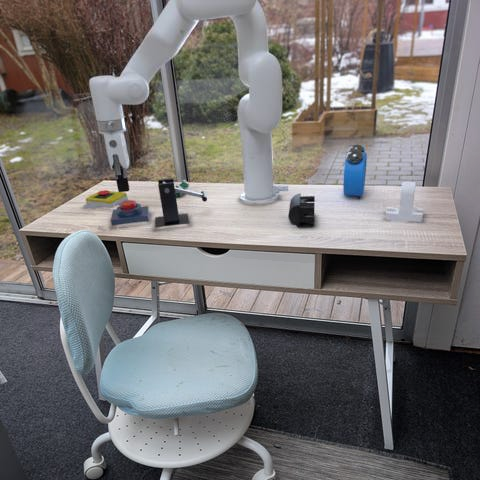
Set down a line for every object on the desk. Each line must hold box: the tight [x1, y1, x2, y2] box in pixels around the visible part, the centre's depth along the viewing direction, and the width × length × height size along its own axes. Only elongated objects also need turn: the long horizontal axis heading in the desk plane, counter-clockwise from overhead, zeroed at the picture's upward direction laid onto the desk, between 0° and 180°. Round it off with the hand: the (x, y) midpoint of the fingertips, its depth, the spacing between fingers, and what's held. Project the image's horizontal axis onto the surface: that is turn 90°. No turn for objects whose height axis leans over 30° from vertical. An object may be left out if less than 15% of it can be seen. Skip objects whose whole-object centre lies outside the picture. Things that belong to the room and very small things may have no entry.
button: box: [121, 199, 137, 210], centre depth 144 cm, size 4×4×2 cm
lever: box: [163, 182, 208, 203], centre depth 138 cm, size 13×6×2 cm, turn 98°
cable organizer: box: [384, 181, 425, 223], centre depth 131 cm, size 5×10×10 cm, turn 70°
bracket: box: [154, 177, 190, 228], centre depth 139 cm, size 10×8×13 cm
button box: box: [110, 202, 150, 226], centre depth 146 cm, size 11×9×4 cm
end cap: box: [288, 192, 316, 229], centre depth 135 cm, size 10×7×7 cm
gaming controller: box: [175, 179, 190, 197], centre depth 164 cm, size 9×4×6 cm
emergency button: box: [83, 189, 129, 210], centre depth 160 cm, size 9×4×15 cm
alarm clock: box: [342, 143, 368, 200], centre depth 148 cm, size 13×6×15 cm, turn 164°
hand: (124, 190), depth 142 cm, fingers closed
